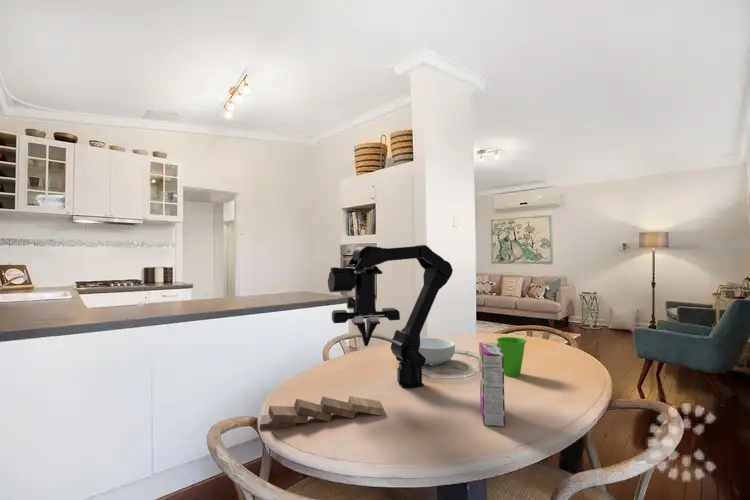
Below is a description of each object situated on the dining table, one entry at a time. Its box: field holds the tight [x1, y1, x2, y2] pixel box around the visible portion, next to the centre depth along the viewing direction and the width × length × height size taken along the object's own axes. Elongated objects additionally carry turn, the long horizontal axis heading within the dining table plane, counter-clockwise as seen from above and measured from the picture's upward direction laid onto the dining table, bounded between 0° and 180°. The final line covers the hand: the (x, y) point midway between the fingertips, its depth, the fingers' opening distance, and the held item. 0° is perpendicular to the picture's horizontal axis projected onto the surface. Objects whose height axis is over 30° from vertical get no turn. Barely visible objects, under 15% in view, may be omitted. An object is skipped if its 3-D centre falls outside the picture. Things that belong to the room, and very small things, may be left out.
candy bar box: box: [478, 341, 506, 428], centre depth 91 cm, size 11×5×16 cm, turn 168°
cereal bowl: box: [419, 337, 456, 365], centre depth 137 cm, size 17×17×7 cm
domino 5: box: [347, 395, 385, 416], centre depth 94 cm, size 2×5×8 cm
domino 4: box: [320, 396, 357, 419], centre depth 93 cm, size 2×5×8 cm
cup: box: [495, 336, 527, 378], centre depth 122 cm, size 9×9×11 cm
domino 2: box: [267, 405, 309, 424], centre depth 88 cm, size 2×5×8 cm
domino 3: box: [293, 398, 333, 423], centre depth 90 cm, size 2×5×8 cm
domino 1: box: [259, 413, 297, 430], centre depth 89 cm, size 2×5×8 cm
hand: (365, 345), depth 108 cm, fingers closed
